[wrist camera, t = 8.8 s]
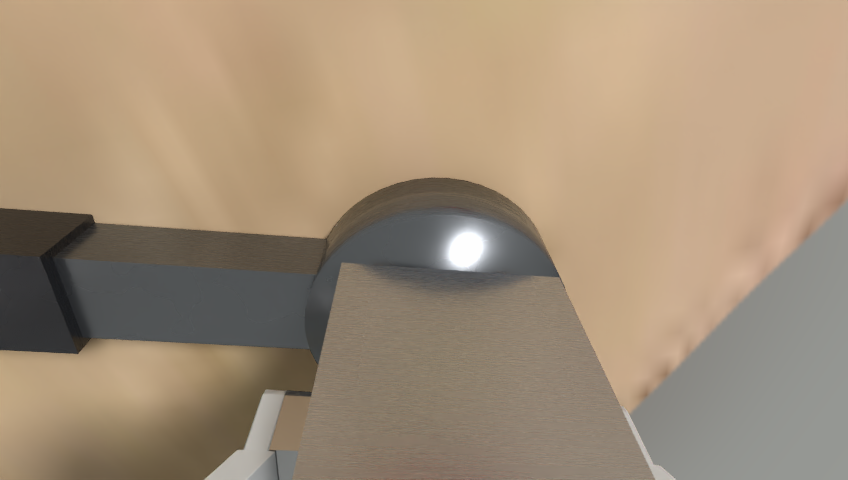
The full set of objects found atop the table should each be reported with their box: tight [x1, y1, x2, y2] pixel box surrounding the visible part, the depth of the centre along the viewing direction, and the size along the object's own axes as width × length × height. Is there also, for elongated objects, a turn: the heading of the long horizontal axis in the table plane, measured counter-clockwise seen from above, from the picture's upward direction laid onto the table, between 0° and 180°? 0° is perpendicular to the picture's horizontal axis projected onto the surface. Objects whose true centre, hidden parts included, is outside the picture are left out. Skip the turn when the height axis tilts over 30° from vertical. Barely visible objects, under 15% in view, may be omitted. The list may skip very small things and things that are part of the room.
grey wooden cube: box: [292, 263, 655, 480], centre depth 11 cm, size 6×6×6 cm
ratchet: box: [0, 178, 565, 364], centre depth 13 cm, size 23×8×6 cm, turn 84°
